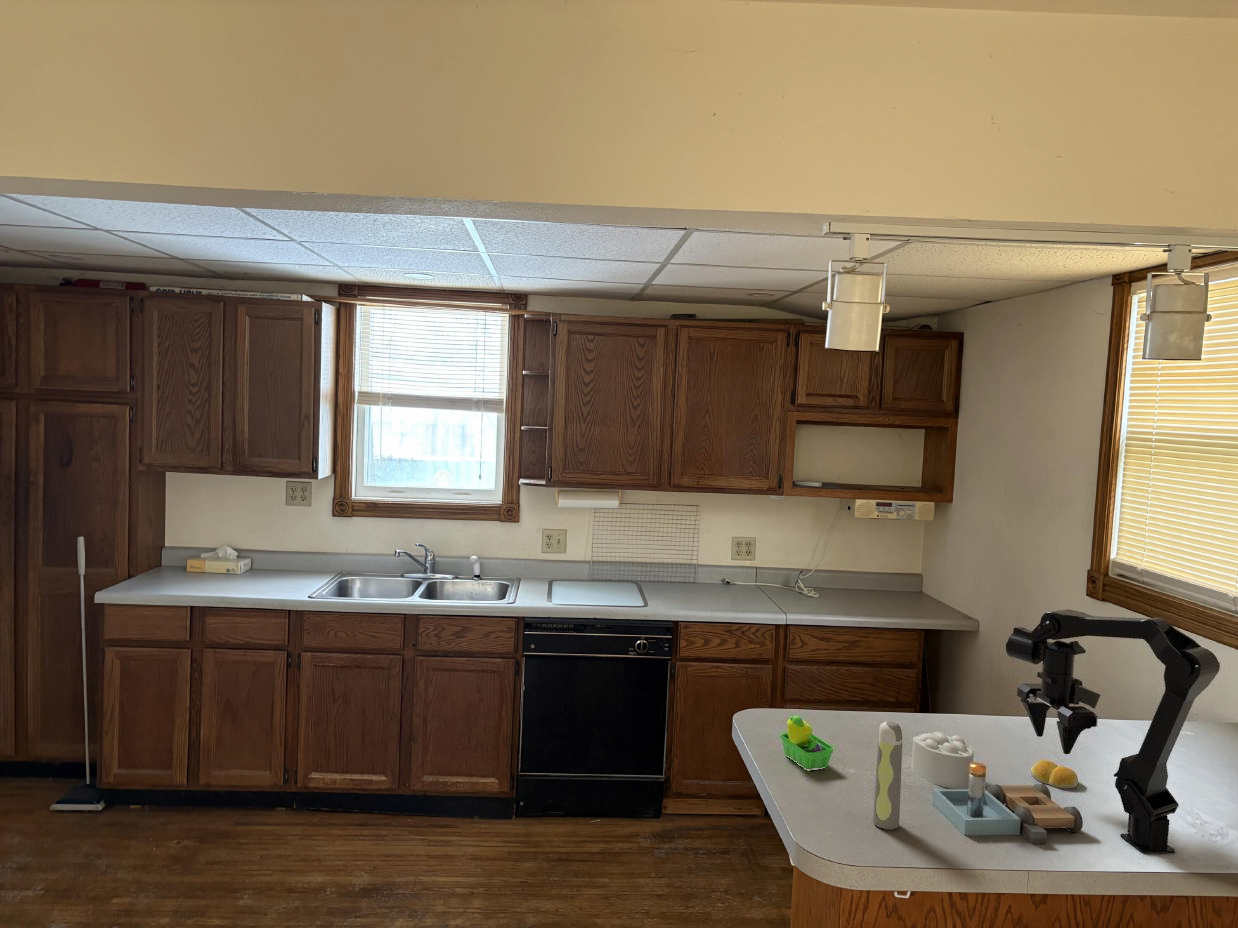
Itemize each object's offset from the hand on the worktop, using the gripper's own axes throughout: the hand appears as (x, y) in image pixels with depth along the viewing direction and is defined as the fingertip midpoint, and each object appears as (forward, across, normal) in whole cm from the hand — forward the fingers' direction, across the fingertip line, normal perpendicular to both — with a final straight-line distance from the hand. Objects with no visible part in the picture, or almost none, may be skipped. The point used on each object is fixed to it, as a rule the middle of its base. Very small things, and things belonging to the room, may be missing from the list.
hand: (1052, 744), depth 175 cm
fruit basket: (+12, +20, +46) cm, 52 cm away
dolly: (+12, -8, +8) cm, 17 cm away
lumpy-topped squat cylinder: (+12, +12, +17) cm, 24 cm away
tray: (+12, -7, +20) cm, 24 cm away
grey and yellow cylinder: (+12, -9, +39) cm, 42 cm away
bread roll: (+12, +10, -8) cm, 18 cm away
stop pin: (+11, -7, +20) cm, 24 cm away
